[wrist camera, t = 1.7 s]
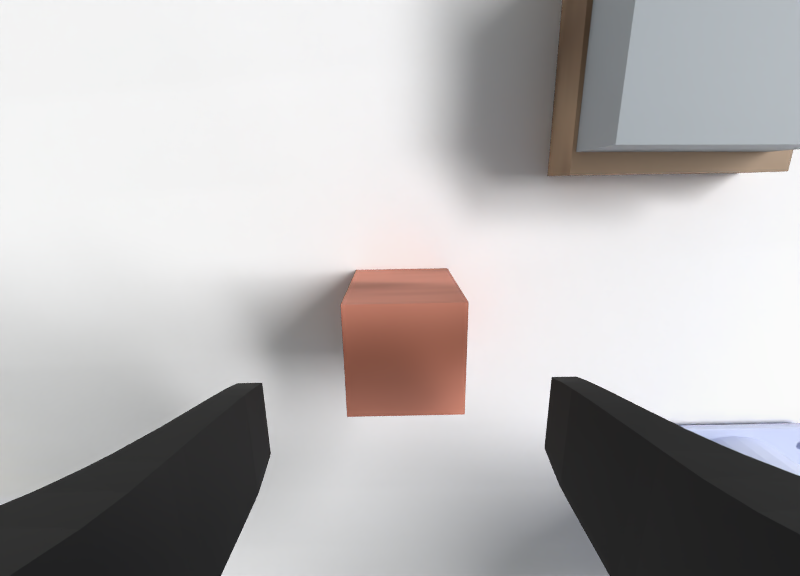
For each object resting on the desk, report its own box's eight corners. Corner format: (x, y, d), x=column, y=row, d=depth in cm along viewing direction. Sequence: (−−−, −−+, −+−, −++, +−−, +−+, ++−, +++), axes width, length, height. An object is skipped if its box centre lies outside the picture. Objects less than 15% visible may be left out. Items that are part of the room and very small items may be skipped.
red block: (445, 351, 18) (464, 414, 13) (360, 353, 18) (347, 416, 13) (447, 268, 17) (468, 302, 12) (356, 269, 17) (340, 304, 12)
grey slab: (770, 151, 14) (850, 144, 11) (576, 152, 14) (615, 144, 11) (826, -88, 12) (938, -158, 9) (603, -89, 12) (657, -160, 9)
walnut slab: (729, 173, 16) (787, 171, 14) (543, 176, 16) (570, 174, 14) (775, -52, 14) (853, -100, 12) (561, -50, 14) (596, -98, 12)
